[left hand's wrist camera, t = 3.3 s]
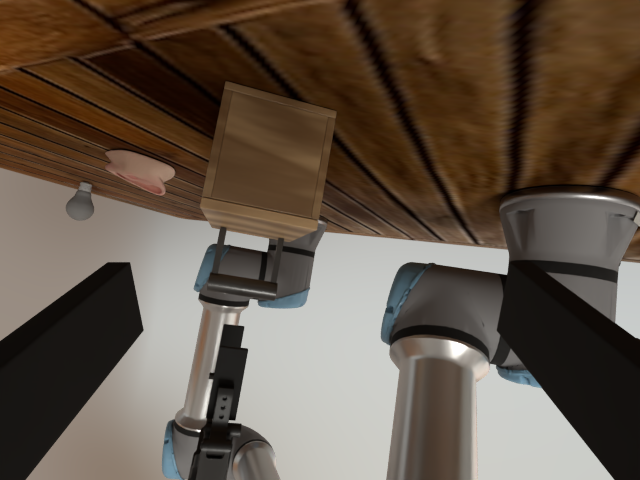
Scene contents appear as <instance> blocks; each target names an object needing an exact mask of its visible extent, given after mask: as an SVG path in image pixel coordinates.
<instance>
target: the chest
mask: <svg viewBox="0 0 640 480" xmlns="http://www.w3.org/2000/svg"><path fill="white" fill-rule="evenodd" d="M336 113H337V111H334V110H330V109H327V108H323V107H319V106H316V105H312V104H308V103H305V102H301V101H297V100H294V99H290V98H286V97H283V96H279V95H275V94H272V93H268V92H265V91H261V90H257V89H254V88H250V87H246V86H243V85H239V84H235V83H232V82H228V81H226V82H225V86H224V91H223V96H222V101H221V106H220V111H219V116H218V120H217V125H216V130H215V135H214V140H213V145H212V150H211V155H210V159H209V164H208V169H207V174H206V179H205V184H204V189H203V193H202V197H205V198H210V199H215V200H220V201H225V202H230V203H234V204H239V205H244V206H249V207H254V208H259V209H264V210H269V211H274V212H279V213H284V214H289V215H294V216H299V217H304V218H308V219H313V220H319V215H320V209H321V203H322V197H323V191H324V185H325V179H326V173H327V167H328V161H329V155H330V149H331V143H332V137H333V131H334V125H335V118H336Z"/></svg>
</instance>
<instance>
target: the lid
mask: <svg viewBox="0 0 640 480" xmlns="http://www.w3.org/2000/svg"><path fill="white" fill-rule="evenodd" d="M200 208H201V210H202V211H203V213H204V215H205V216H206V218H207V220H208V222H209V223H210V225H211V227H212V228H216V229H220V232H219V237H218V242H217V247H216V252H215V257H214V262H213V268H212V272H210V275H209V279H208V284H207V291H211V292H217V293H224V294H231V295H237V296H244V297H251V298H258V299H264V300H271V301H275V298H276V295H277V288H278V283H277V277H278V272H279V266H280V260H281V255H282V249H283V243H284V241H286V242H291V241H293V240H295V239H298V238H300V237H302V236H304V235H307V234H309V233H311V232H313V231H316V230H317V227H318V220H313V219H308V218H304V217H299V216H294V215H289V214H284V213H279V212H274V211H269V210H264V209H259V208H254V207H249V206H244V205H239V204H234V203H230V202H225V201H220V200H215V199H210V198H205V197H202V199H201V203H200ZM226 230H228V231H233V232H238V233H243V234H249V235H254V236H260V237H265V238H270V239H276V240H278V241H277V247H276V252H275V258H274V263H273V269H272V275H271V280H270V282H269V281H263V280H257V279H250V278H244V277H238V276H232V275H225V274H219V273H218V271H219V266H220V261H221V256H222V251H223V245H224V240H225V235H226Z"/></svg>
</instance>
